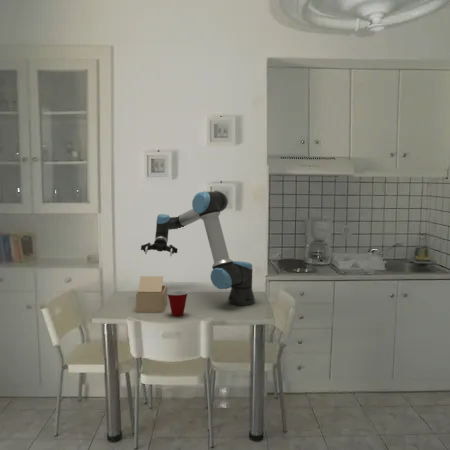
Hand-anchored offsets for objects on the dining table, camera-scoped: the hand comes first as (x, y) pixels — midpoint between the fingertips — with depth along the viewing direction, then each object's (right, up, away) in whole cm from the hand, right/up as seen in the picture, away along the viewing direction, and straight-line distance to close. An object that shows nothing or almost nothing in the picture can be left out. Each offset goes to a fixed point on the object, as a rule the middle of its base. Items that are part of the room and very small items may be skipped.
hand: (158, 252), depth 253 cm
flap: (-3, -20, -12) cm, 24 cm away
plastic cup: (+12, -31, -16) cm, 37 cm away
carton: (-3, -29, -3) cm, 30 cm away
